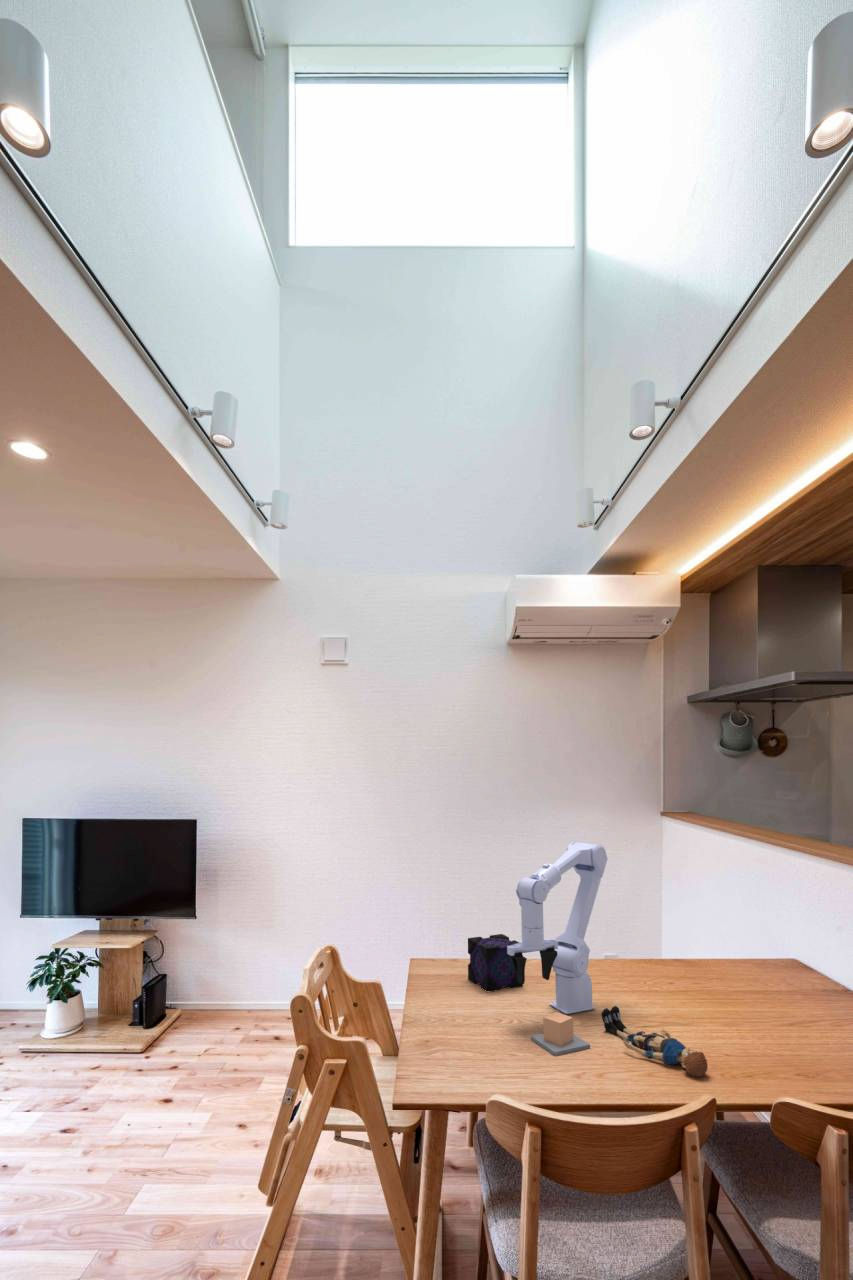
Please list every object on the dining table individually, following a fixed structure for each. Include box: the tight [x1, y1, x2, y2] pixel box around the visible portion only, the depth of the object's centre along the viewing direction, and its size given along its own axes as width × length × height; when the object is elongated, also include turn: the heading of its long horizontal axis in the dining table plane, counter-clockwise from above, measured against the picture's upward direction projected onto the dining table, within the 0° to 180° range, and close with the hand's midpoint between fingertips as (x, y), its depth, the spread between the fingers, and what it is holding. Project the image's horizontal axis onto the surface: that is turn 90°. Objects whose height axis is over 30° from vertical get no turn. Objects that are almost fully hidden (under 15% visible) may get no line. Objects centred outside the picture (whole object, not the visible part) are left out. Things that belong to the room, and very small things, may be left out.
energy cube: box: [467, 933, 524, 992], centre depth 213 cm, size 12×12×12 cm
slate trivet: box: [530, 1032, 591, 1057], centre depth 170 cm, size 10×10×1 cm
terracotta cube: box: [542, 1011, 574, 1046], centre depth 170 cm, size 5×5×5 cm
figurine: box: [601, 1005, 709, 1078], centre depth 166 cm, size 13×6×30 cm
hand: (533, 980), depth 184 cm, fingers open, 7 cm apart
